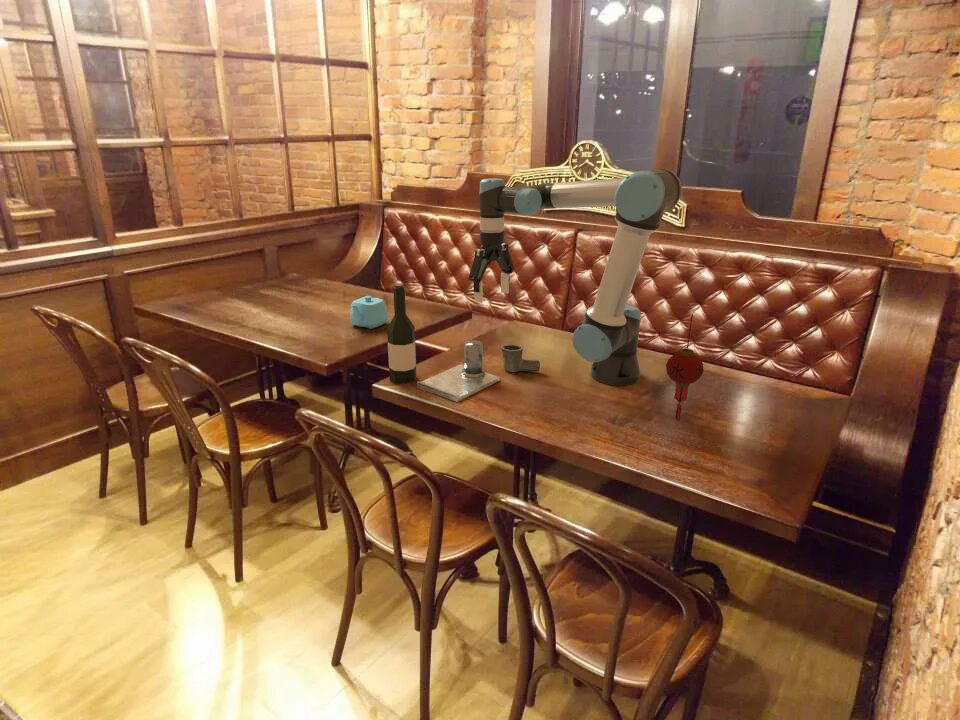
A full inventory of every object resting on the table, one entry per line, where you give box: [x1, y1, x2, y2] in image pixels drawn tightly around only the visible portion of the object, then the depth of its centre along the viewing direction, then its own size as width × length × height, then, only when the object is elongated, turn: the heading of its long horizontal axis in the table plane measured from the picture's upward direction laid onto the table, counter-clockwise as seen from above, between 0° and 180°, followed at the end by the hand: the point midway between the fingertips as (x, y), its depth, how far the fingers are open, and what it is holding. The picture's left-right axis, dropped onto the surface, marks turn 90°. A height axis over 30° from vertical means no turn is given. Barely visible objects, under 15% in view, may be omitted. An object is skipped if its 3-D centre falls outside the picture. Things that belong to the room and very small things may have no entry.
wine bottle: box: [386, 283, 417, 385], centre depth 186 cm, size 8×8×30 cm
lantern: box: [665, 313, 705, 421], centre depth 162 cm, size 10×10×30 cm
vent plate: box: [416, 339, 501, 403], centre depth 187 cm, size 16×21×11 cm
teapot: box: [349, 295, 389, 330], centre depth 237 cm, size 12×18×12 cm
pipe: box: [500, 344, 541, 373], centre depth 197 cm, size 6×13×8 cm, turn 78°
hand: (491, 297), depth 198 cm, fingers open, 13 cm apart
